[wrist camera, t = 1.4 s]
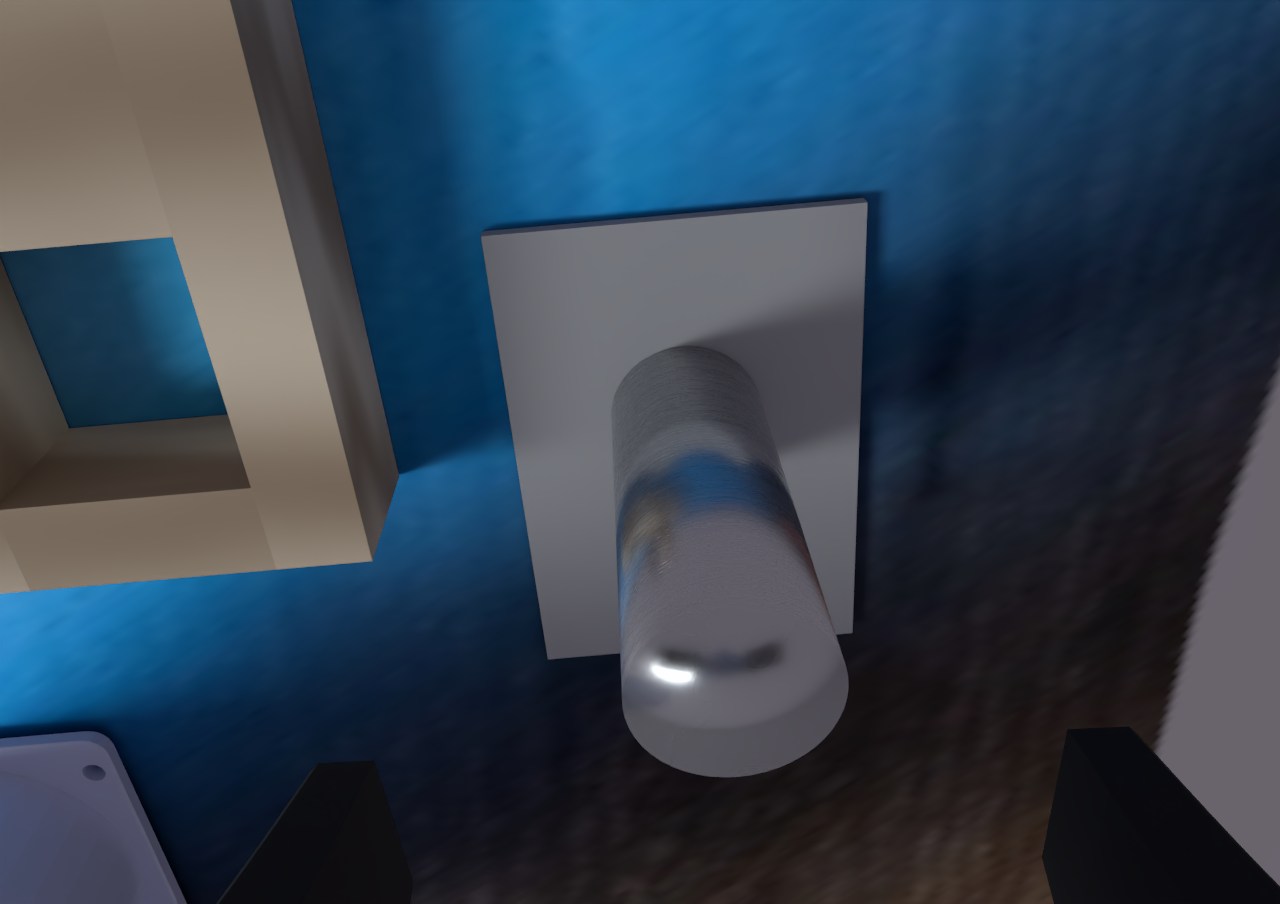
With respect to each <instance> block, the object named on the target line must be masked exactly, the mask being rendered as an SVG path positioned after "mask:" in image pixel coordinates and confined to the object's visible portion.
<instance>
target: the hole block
mask: <svg viewBox="0 0 1280 904" xmlns="http://www.w3.org/2000/svg"><path fill="white" fill-rule="evenodd" d="M164 237H173V240H174V243H175V247H176V250H177V253H178V256H179V259H180V263H181V266H182V269H183V272H184V275H185V279H186V282H187V285H188V288H189V291H190V295H191V298H192V301H193V304H194V307H195V311H196V314H197V317H198V320H199V323H200V327H201V330H202V333H203V336H204V339H205V343H206V346H207V349H208V352H209V355H210V359H211V362H212V365H213V368H214V371H215V374H216V378H217V381H218V384H219V387H220V390H221V394H222V397H223V400H224V403H225V406H226V410H227V413H228V414H227V415H216V416H205V417H193V418H182V419H170V420H159V421H147V422H136V423H124V424H113V425H101V426H90V427H79V428H69V427H68V424H67V422H66V420H65V417H64V415H63V412H62V410H61V407H60V405H59V402H58V400H57V397H56V395H55V392H54V390H53V387H52V385H51V382H50V380H49V377H48V375H47V372H46V370H45V367H44V365H43V363H42V360H41V358H40V355H39V353H38V350H37V348H36V345H35V343H34V340H33V338H32V335H31V333H30V330H29V328H28V325H27V323H26V320H25V318H24V315H23V313H22V310H21V308H20V306H19V303H18V301H17V298H16V296H15V293H14V291H13V288H12V286H11V283H10V281H9V278H8V276H7V273H6V271H5V268H4V266H3V263H2V261H1V258H0V594H1V593H13V592H24V591H36V590H47V589H59V588H70V587H82V586H93V585H105V584H116V583H128V582H139V581H151V580H162V579H174V578H185V577H197V576H208V575H220V574H231V573H243V572H254V571H266V570H277V569H289V568H300V567H312V566H323V565H335V564H346V563H358V562H369V561H373V558H374V554H375V551H376V548H377V545H378V542H379V538H380V535H381V532H382V529H383V526H384V522H385V519H386V516H387V513H388V510H389V506H390V503H391V500H392V497H393V494H394V491H395V487H396V484H397V481H398V478H399V474H398V469H397V465H396V460H395V456H394V452H393V447H392V443H391V438H390V434H389V429H388V425H387V421H386V416H385V412H384V407H383V403H382V399H381V394H380V390H379V385H378V381H377V376H376V372H375V368H374V363H373V359H372V354H371V350H370V346H369V341H368V337H367V332H366V328H365V324H364V319H363V315H362V310H361V306H360V301H359V297H358V293H357V288H356V284H355V279H354V275H353V271H352V266H351V262H350V257H349V253H348V248H347V244H346V240H345V235H344V231H343V226H342V222H341V218H340V213H339V209H338V204H337V200H336V195H335V191H334V187H333V182H332V178H331V173H330V169H329V165H328V160H327V156H326V151H325V147H324V142H323V138H322V134H321V129H320V125H319V120H318V116H317V112H316V107H315V103H314V98H313V94H312V89H311V85H310V81H309V76H308V72H307V67H306V63H305V59H304V54H303V50H302V45H301V41H300V37H299V32H298V28H297V23H296V19H295V14H294V10H293V6H292V1H291V0H0V252H5V251H16V250H27V249H39V248H50V247H62V246H73V245H84V244H96V243H107V242H119V241H130V240H142V239H153V238H164Z"/></svg>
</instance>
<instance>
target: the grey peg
mask: <svg viewBox="0 0 1280 904" xmlns="http://www.w3.org/2000/svg"><path fill="white" fill-rule="evenodd" d="M611 428H612V453H613V479H614V505H615V530H616V556H617V581H618V607H619V633H620V658H621V684H622V707H623V712H624V717H625V720H626V722H627V725H628V727H629V729H630V731H631V732H632V734H633V736H634V737H635V739H636V740H637V741H638V742H639V743H640V745H641V746H642V747H643V748H645V749H646V750H647V751H648V752H649V753H650V754H651V755H653V756H654V757H656V758H657V759H659V760H660V761H662V762H664V763H666V764H668V765H670V766H672V767H674V768H677V769H680V770H682V771H685V772H689V773H693V774H697V775H703V776H710V777H741V776H748V775H754V774H759V773H763V772H767V771H770V770H773V769H776V768H779V767H782V766H784V765H786V764H788V763H791V762H793V761H795V760H796V759H798V758H800V757H802V756H803V755H805V754H806V753H808V752H809V751H811V750H812V749H813V748H815V747H816V746H817V745H818V744H819V743H820V742H821V741H822V740H824V739H825V737H826V736H827V735H828V734H829V733H830V732H831V731H832V729H833V728H834V726H835V725H836V723H837V722H838V720H839V719H840V716H841V714H842V712H843V710H844V707H845V704H846V700H847V696H848V688H849V685H848V673H847V669H846V665H845V662H844V659H843V656H842V652H841V649H840V646H839V643H838V640H837V637H836V634H835V631H834V627H833V624H832V621H831V618H830V615H829V612H828V609H827V606H826V602H825V599H824V596H823V593H822V590H821V587H820V584H819V581H818V577H817V574H816V571H815V568H814V565H813V562H812V559H811V556H810V552H809V549H808V546H807V543H806V540H805V537H804V534H803V531H802V527H801V524H800V521H799V518H798V515H797V512H796V509H795V506H794V502H793V499H792V496H791V493H790V490H789V487H788V484H787V481H786V477H785V474H784V471H783V468H782V465H781V462H780V459H779V456H778V452H777V449H776V446H775V443H774V440H773V437H772V434H771V431H770V427H769V424H768V421H767V418H766V415H765V412H764V409H763V406H762V402H761V399H760V396H759V393H758V390H757V388H756V385H755V383H754V381H753V380H752V378H751V376H750V375H749V374H748V373H747V371H746V370H745V369H744V368H743V367H742V366H741V365H740V364H739V363H738V362H736V361H735V360H733V359H732V358H731V357H729V356H727V355H725V354H723V353H721V352H718V351H716V350H713V349H709V348H704V347H697V346H681V347H674V348H669V349H666V350H662V351H660V352H657V353H655V354H652V355H651V356H649V357H647V358H645V359H643V360H642V361H641V362H639V363H638V364H637V365H635V366H634V367H633V368H632V369H631V370H630V371H629V372H628V373H627V375H626V376H625V377H624V378H623V380H622V381H621V383H620V385H619V386H618V388H617V391H616V393H615V395H614V399H613V403H612V409H611Z"/></svg>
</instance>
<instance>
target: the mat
mask: <svg viewBox="0 0 1280 904" xmlns="http://www.w3.org/2000/svg"><path fill="white" fill-rule="evenodd" d="M867 204H868V202H867V201H866V200H865V199H864V198H856V199H845V200H834V201H822V202H811V203H799V204H788V205H776V206H765V207H754V208H742V209H731V210H719V211H708V212H697V213H685V214H674V215H662V216H651V217H639V218H628V219H617V220H605V221H594V222H582V223H571V224H559V225H548V226H537V227H525V228H514V229H502V230H491V231H482V234H481V240H482V247H483V253H484V259H485V266H486V272H487V278H488V285H489V291H490V297H491V304H492V310H493V316H494V323H495V329H496V335H497V342H498V348H499V354H500V360H501V367H502V373H503V379H504V386H505V392H506V398H507V405H508V411H509V417H510V424H511V430H512V436H513V443H514V449H515V455H516V462H517V468H518V474H519V481H520V487H521V493H522V499H523V506H524V512H525V518H526V525H527V531H528V537H529V544H530V550H531V556H532V563H533V569H534V575H535V582H536V588H537V594H538V601H539V607H540V613H541V619H542V626H543V632H544V638H545V645H546V651H547V657H548V659H559V658H571V657H582V656H594V655H605V654H617V653H620V633H619V607H618V581H617V556H616V530H615V505H614V479H613V453H612V428H611V409H612V403H613V399H614V395H615V393H616V391H617V388H618V386H619V385H620V383H621V381H622V380H623V378H624V377H625V376H626V375H627V373H628V372H629V371H630V370H631V369H632V368H633V367H634V366H635V365H637V364H638V363H639V362H641V361H642V360H643V359H645V358H647V357H649V356H651V355H652V354H655V353H657V352H660V351H662V350H666V349H669V348H674V347H681V346H697V347H704V348H709V349H713V350H716V351H718V352H721V353H723V354H725V355H727V356H729V357H731V358H732V359H733V360H735V361H736V362H738V363H739V364H740V365H741V366H742V367H743V368H744V369H745V370H746V371H747V373H748V374H749V375H750V376H751V378H752V380H753V381H754V383H755V385H756V388H757V390H758V393H759V396H760V399H761V402H762V406H763V409H764V412H765V415H766V418H767V421H768V424H769V427H770V431H771V434H772V437H773V440H774V443H775V446H776V449H777V452H778V456H779V459H780V462H781V465H782V468H783V471H784V474H785V477H786V481H787V484H788V487H789V490H790V493H791V496H792V499H793V502H794V506H795V509H796V512H797V515H798V518H799V521H800V524H801V527H802V531H803V534H804V537H805V540H806V543H807V546H808V549H809V552H810V556H811V559H812V562H813V565H814V568H815V571H816V574H817V577H818V581H819V584H820V587H821V590H822V593H823V596H824V599H825V602H826V606H827V609H828V612H829V615H830V618H831V621H832V624H833V627H834V631H835V634H847V633H853V605H854V576H855V548H856V519H857V490H858V462H859V433H860V404H861V376H862V347H863V318H864V290H865V261H866V232H867Z"/></svg>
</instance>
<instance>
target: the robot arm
mask: <svg viewBox="0 0 1280 904" xmlns="http://www.w3.org/2000/svg"><path fill="white" fill-rule="evenodd" d="M94 765H96V766H99V767H101V768H99V767H96V766H94ZM1042 859H1043V863H1044V867H1045V871H1046V874H1047V878H1048V882H1049V886H1050V890H1051V893H1052V897H1053V901H1054V904H1280V886H1279V885H1278V884H1277V883H1276V882H1275V881H1274V880H1273V879H1272V878H1271V877H1270V876H1269V875H1268V874H1267V873H1266V872H1265V871H1264V870H1263V869H1262V868H1261V867H1260V866H1259V865H1258V864H1257V863H1256V862H1255V861H1254V860H1253V858H1252V857H1251V856H1250V855H1249V854H1248V853H1247V852H1246V851H1245V850H1244V849H1243V848H1242V847H1241V846H1240V845H1239V844H1238V843H1237V842H1236V841H1235V840H1234V838H1233V837H1232V836H1230V834H1229V833H1228V832H1227V831H1226V830H1225V829H1224V828H1223V827H1222V826H1221V825H1220V824H1219V822H1218V821H1217V820H1216V819H1215V818H1214V817H1213V816H1212V815H1211V814H1210V813H1209V812H1208V811H1207V810H1206V809H1205V808H1204V806H1203V805H1202V804H1201V803H1200V802H1199V801H1198V800H1197V799H1196V798H1195V797H1194V796H1193V795H1192V793H1191V792H1190V791H1189V790H1188V789H1187V788H1186V787H1185V786H1184V785H1183V784H1182V783H1181V782H1180V780H1179V779H1178V778H1177V777H1176V776H1175V775H1174V774H1173V773H1172V772H1171V770H1169V768H1168V767H1167V766H1166V765H1165V764H1164V763H1163V762H1162V761H1161V759H1160V758H1159V757H1158V756H1157V755H1156V754H1155V753H1154V752H1153V751H1152V750H1151V748H1150V747H1149V746H1148V745H1147V744H1146V743H1145V742H1144V741H1143V740H1142V739H1141V738H1140V736H1139V735H1138V734H1137V733H1135V732H1134V731H1133V730H1132V729H1131V728H1130V727H1111V728H1089V729H1068V730H1067V735H1066V740H1065V745H1064V750H1063V755H1062V760H1061V765H1060V770H1059V775H1058V780H1057V785H1056V790H1055V795H1054V800H1053V805H1052V810H1051V815H1050V820H1049V825H1048V830H1047V835H1046V840H1045V845H1044V850H1043V855H1042ZM412 884H413V880H412V877H411V874H410V871H409V868H408V865H407V862H406V858H405V855H404V852H403V849H402V846H401V843H400V840H399V837H398V834H397V830H396V827H395V824H394V821H393V818H392V815H391V812H390V809H389V806H388V802H387V799H386V796H385V793H384V790H383V787H382V784H381V781H380V778H379V774H378V771H377V768H376V765H375V762H374V761H359V762H337V763H318V764H317V765H316V766H315V767H314V768H313V769H312V770H311V771H310V772H309V774H308V775H307V777H306V778H305V780H304V781H303V782H302V784H301V785H300V787H299V788H298V790H297V791H296V792H295V794H294V795H293V797H292V798H291V800H290V801H289V802H288V804H287V805H286V807H285V808H284V810H283V811H282V812H281V814H280V815H279V817H278V818H277V820H276V821H275V822H274V824H273V825H272V827H271V828H270V830H269V831H268V832H267V834H266V835H265V837H264V838H263V840H262V841H261V842H260V844H259V845H258V847H257V848H256V849H255V851H254V852H253V854H252V855H251V856H250V858H249V859H248V860H247V862H246V863H245V865H244V866H243V867H242V869H241V870H240V872H239V873H238V874H237V876H236V877H235V878H234V880H233V881H232V883H231V884H230V885H229V887H228V888H227V890H226V891H225V892H224V894H223V895H222V896H221V897H220V899H219V900H218V901H217V903H216V904H410V899H411V892H412ZM0 904H187V903H186V901H185V899H184V896H183V894H182V892H181V890H180V888H179V886H178V883H177V881H176V879H175V877H174V875H173V872H172V870H171V868H170V866H169V864H168V862H167V859H166V857H165V855H164V853H163V851H162V848H161V846H160V844H159V842H158V840H157V838H156V835H155V833H154V831H153V829H152V827H151V825H150V822H149V820H148V818H147V816H146V814H145V811H144V809H143V807H142V805H141V803H140V801H139V798H138V796H137V794H136V792H135V790H134V787H133V785H132V783H131V781H130V779H129V777H128V774H127V772H126V770H125V768H124V766H123V764H122V761H121V759H120V757H119V755H118V753H117V750H116V748H115V746H114V744H113V743H112V742H111V740H110V739H109V738H108V737H106V736H105V735H103V734H101V733H98V732H92V731H82V732H71V733H59V734H48V735H36V736H25V737H13V738H2V739H0Z"/></svg>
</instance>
